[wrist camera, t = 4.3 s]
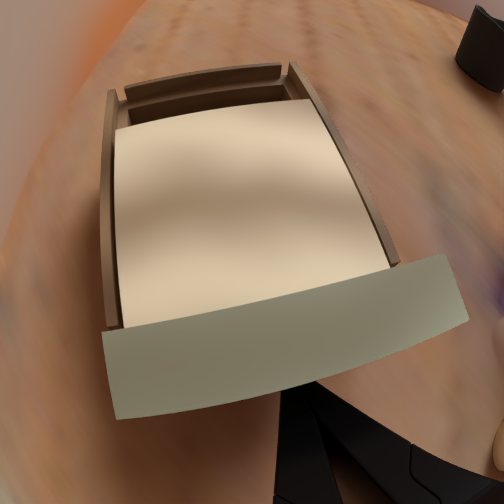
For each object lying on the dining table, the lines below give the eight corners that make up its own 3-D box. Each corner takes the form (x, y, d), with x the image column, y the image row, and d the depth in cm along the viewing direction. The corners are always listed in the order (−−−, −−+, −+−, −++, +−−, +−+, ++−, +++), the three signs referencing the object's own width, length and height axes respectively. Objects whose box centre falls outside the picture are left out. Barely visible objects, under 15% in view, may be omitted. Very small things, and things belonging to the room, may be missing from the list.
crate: (346, 307, 18) (400, 261, 12) (154, 352, 16) (106, 326, 10) (283, 138, 23) (296, 61, 17) (134, 165, 22) (107, 90, 15)
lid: (401, 345, 11) (487, 310, 6) (148, 411, 10) (83, 422, 5) (306, 114, 16) (324, 32, 11) (121, 145, 14) (91, 62, 10)
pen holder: (494, 100, 30) (526, 47, 21) (442, 56, 33) (466, 2, 23) (509, 89, 32) (536, 45, 23) (465, 51, 35) (486, 6, 26)
